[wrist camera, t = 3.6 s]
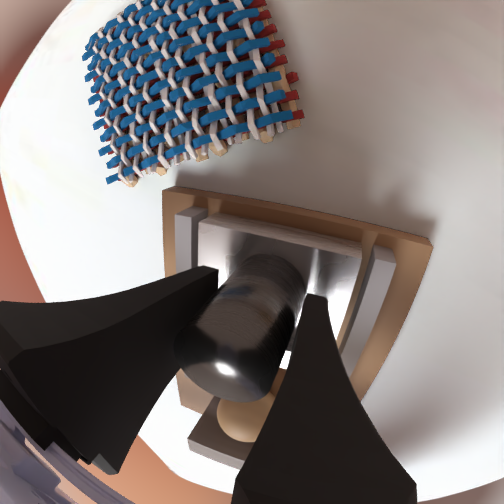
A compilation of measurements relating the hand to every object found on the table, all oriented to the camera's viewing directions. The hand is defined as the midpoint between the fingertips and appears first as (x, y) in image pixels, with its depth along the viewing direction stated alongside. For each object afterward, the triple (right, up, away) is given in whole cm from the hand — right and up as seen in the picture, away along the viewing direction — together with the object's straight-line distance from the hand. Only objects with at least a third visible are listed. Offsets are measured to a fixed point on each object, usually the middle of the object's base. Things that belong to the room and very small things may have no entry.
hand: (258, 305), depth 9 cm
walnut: (0, -7, +6) cm, 9 cm away
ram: (+1, +1, +3) cm, 3 cm away
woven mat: (-4, +11, +2) cm, 12 cm away
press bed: (+1, -4, +6) cm, 7 cm away
